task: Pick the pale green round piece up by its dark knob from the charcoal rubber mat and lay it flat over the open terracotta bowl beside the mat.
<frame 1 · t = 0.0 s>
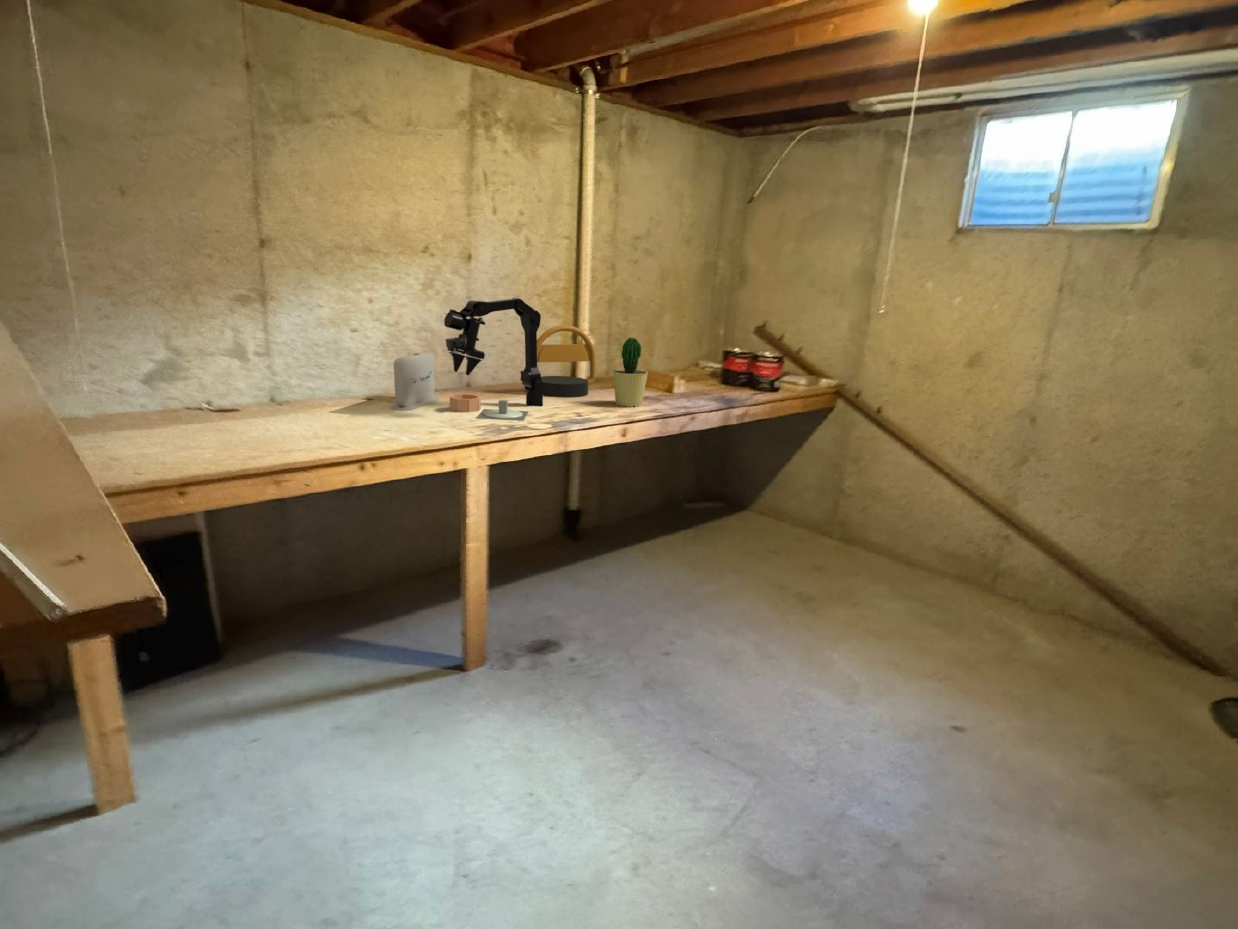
hand: (461, 373, 264), 15 cm above the workbench, tool pointing down, fingers open, 9 cm apart
mat: (503, 415, 267), on the workbench
wireless router: (415, 404, 281), on the workbench
pale green round piece: (503, 414, 267), resting on mat
bowl: (465, 410, 273), on the workbench
chair: (561, 393, 324), on the workbench
potted cactus: (628, 405, 304), on the workbench
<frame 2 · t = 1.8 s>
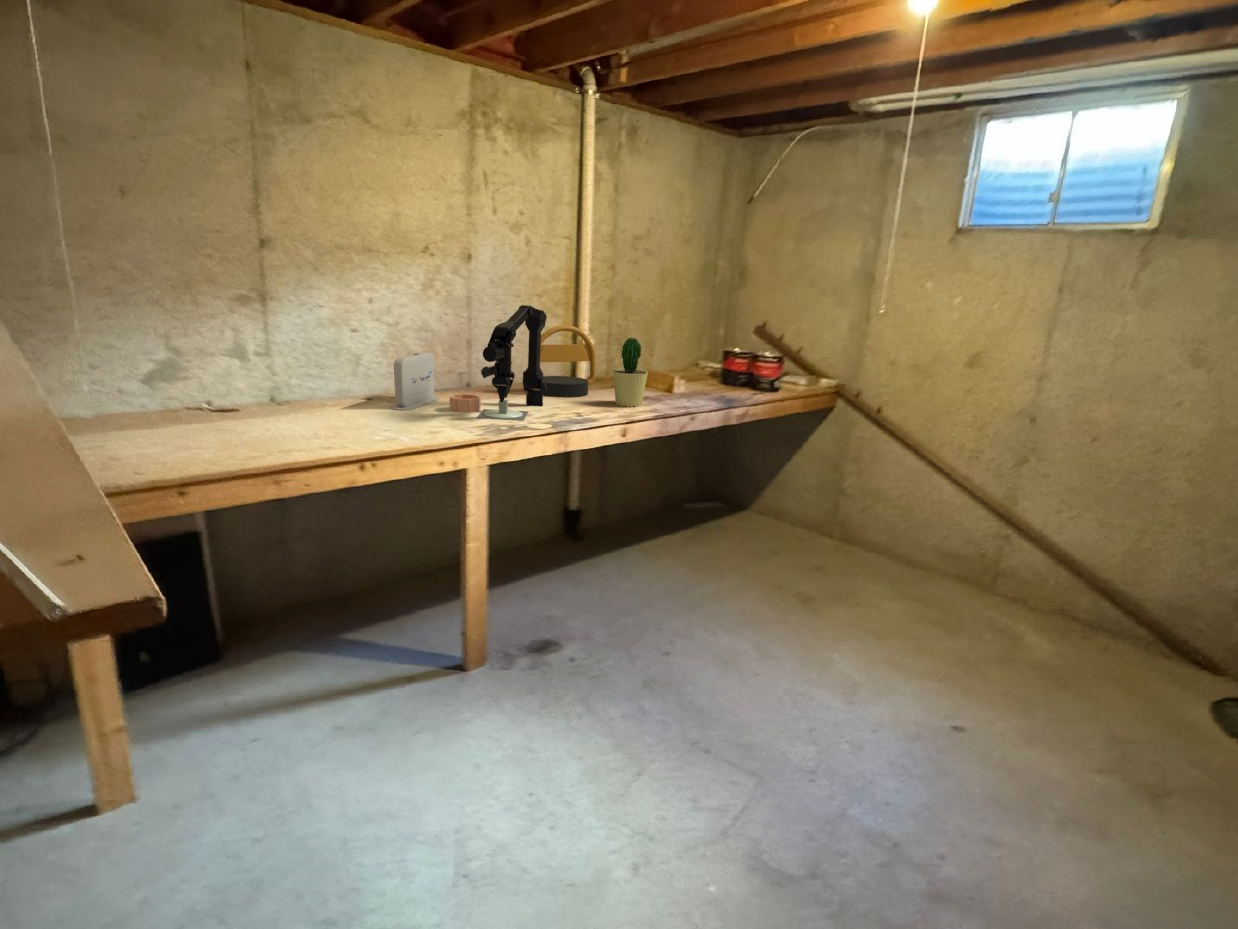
hand: (503, 399, 265), 6 cm above the workbench, tool pointing down, fingers open, 9 cm apart
nothing on the workbench moved.
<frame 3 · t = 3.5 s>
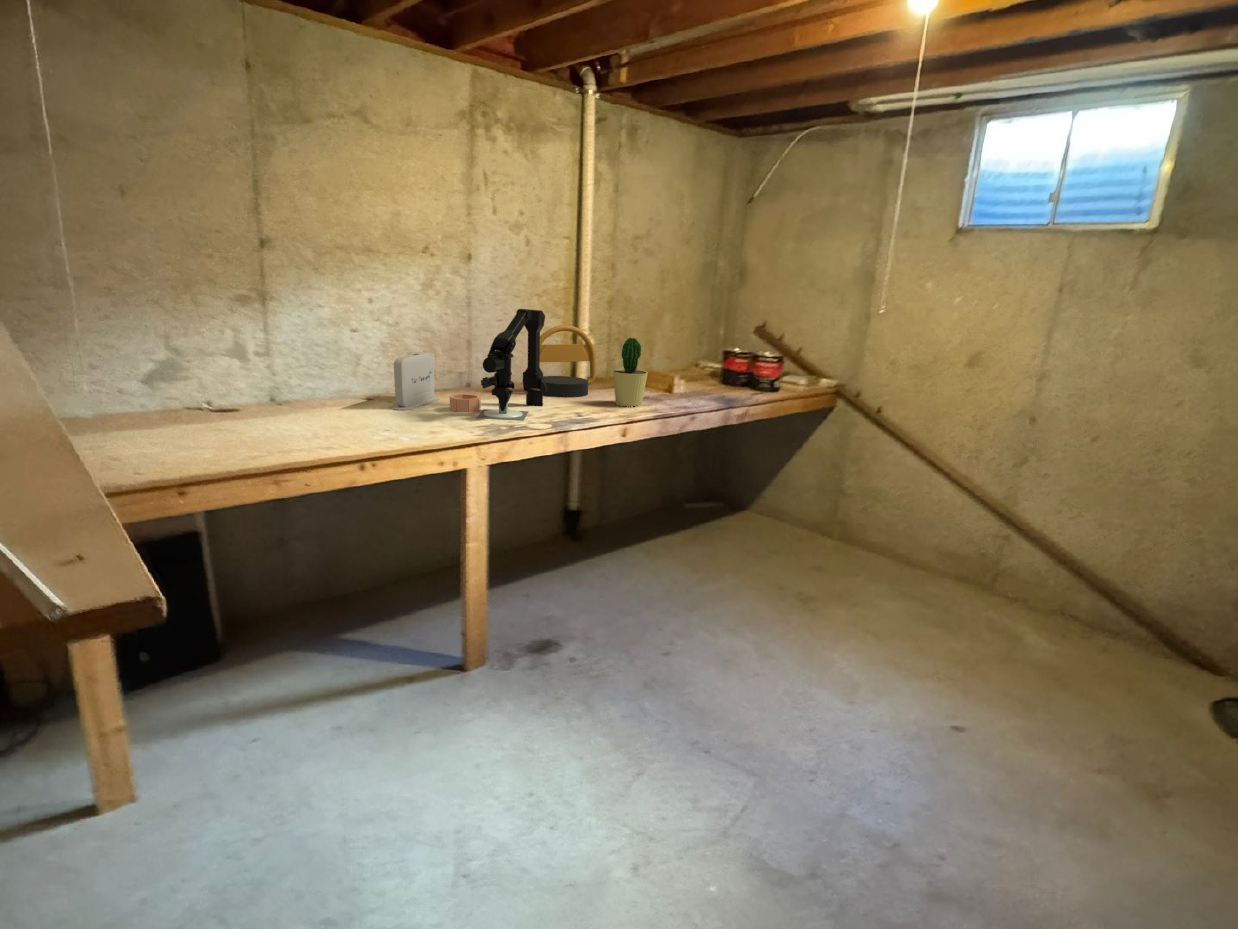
hand: (503, 410, 266), 2 cm above the workbench, tool pointing down, fingers closed on pale green round piece, 3 cm apart
pale green round piece: (503, 414, 267), resting on mat, touching gripper
everything else where it was.
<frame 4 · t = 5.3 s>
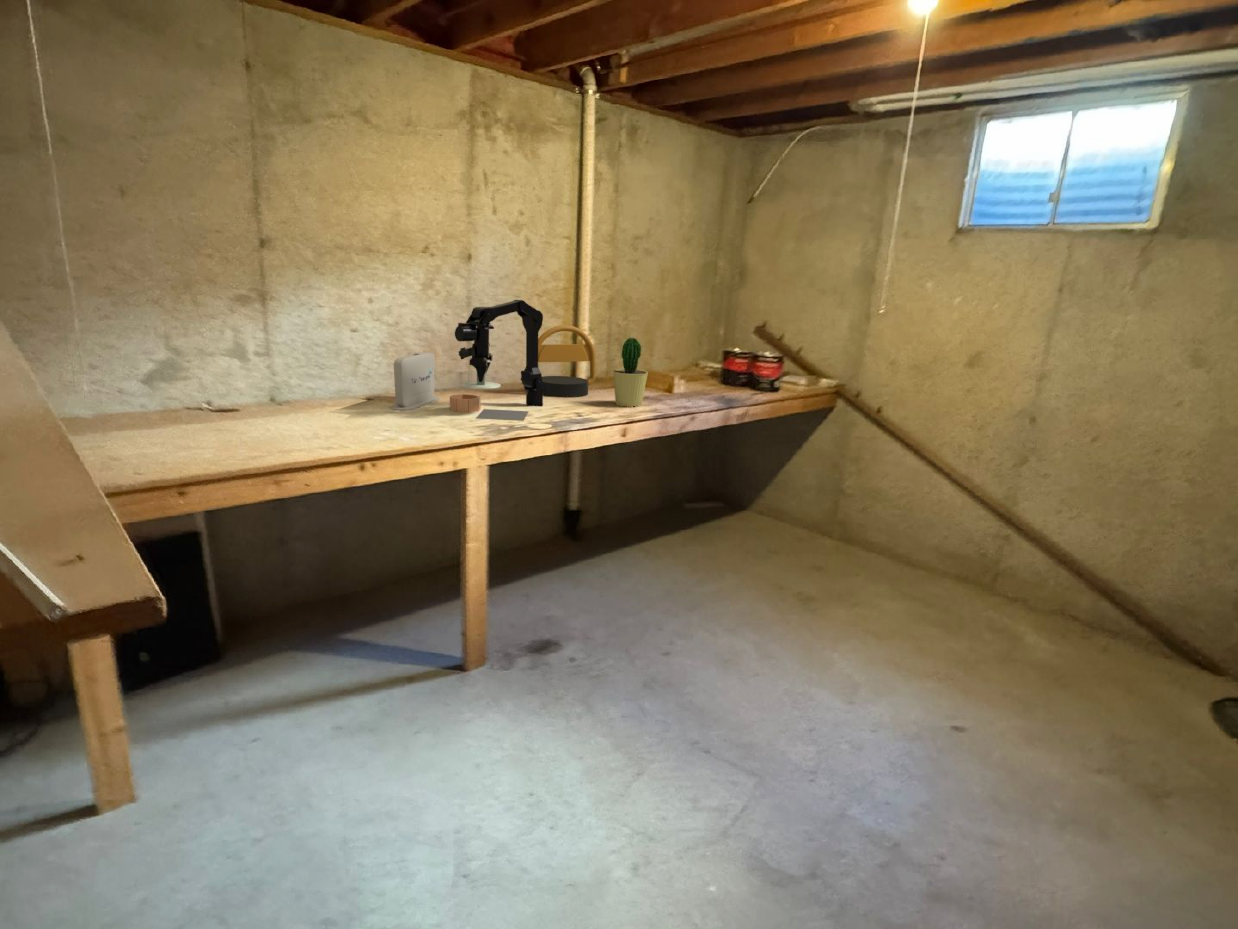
hand: (481, 381, 267), 12 cm above the workbench, tool pointing down, fingers closed on pale green round piece, 3 cm apart
pale green round piece: (481, 385, 267), point 11 cm above the workbench, touching gripper
everything else where it was.
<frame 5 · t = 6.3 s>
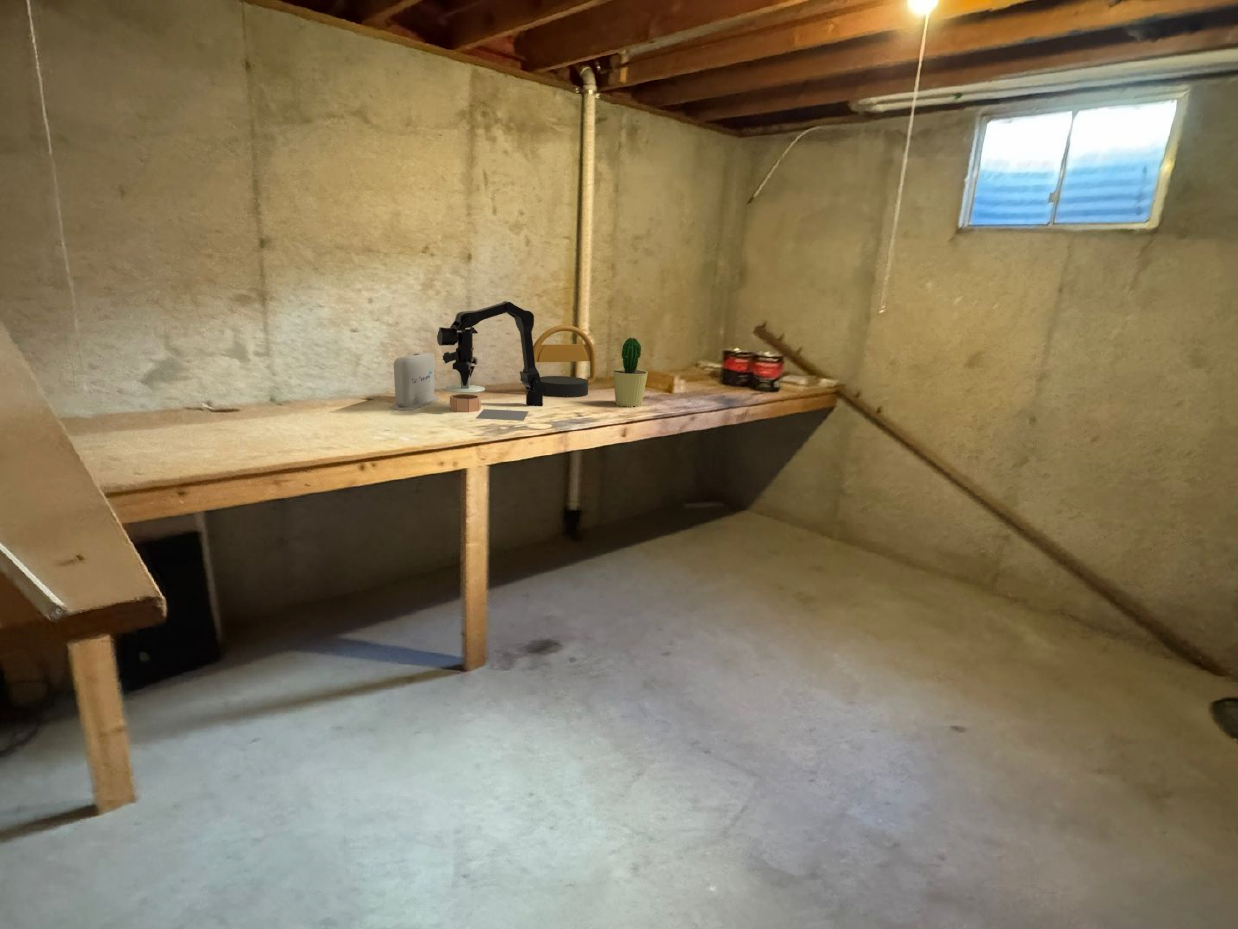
hand: (465, 385, 271), 10 cm above the workbench, tool pointing down, fingers closed on pale green round piece, 3 cm apart
pale green round piece: (465, 389, 271), point 8 cm above the workbench, touching gripper
everything else where it was.
when the fingers open (9 cm above the workbench, at t = 7.2 s): pale green round piece drops 1 cm, resting on bowl.
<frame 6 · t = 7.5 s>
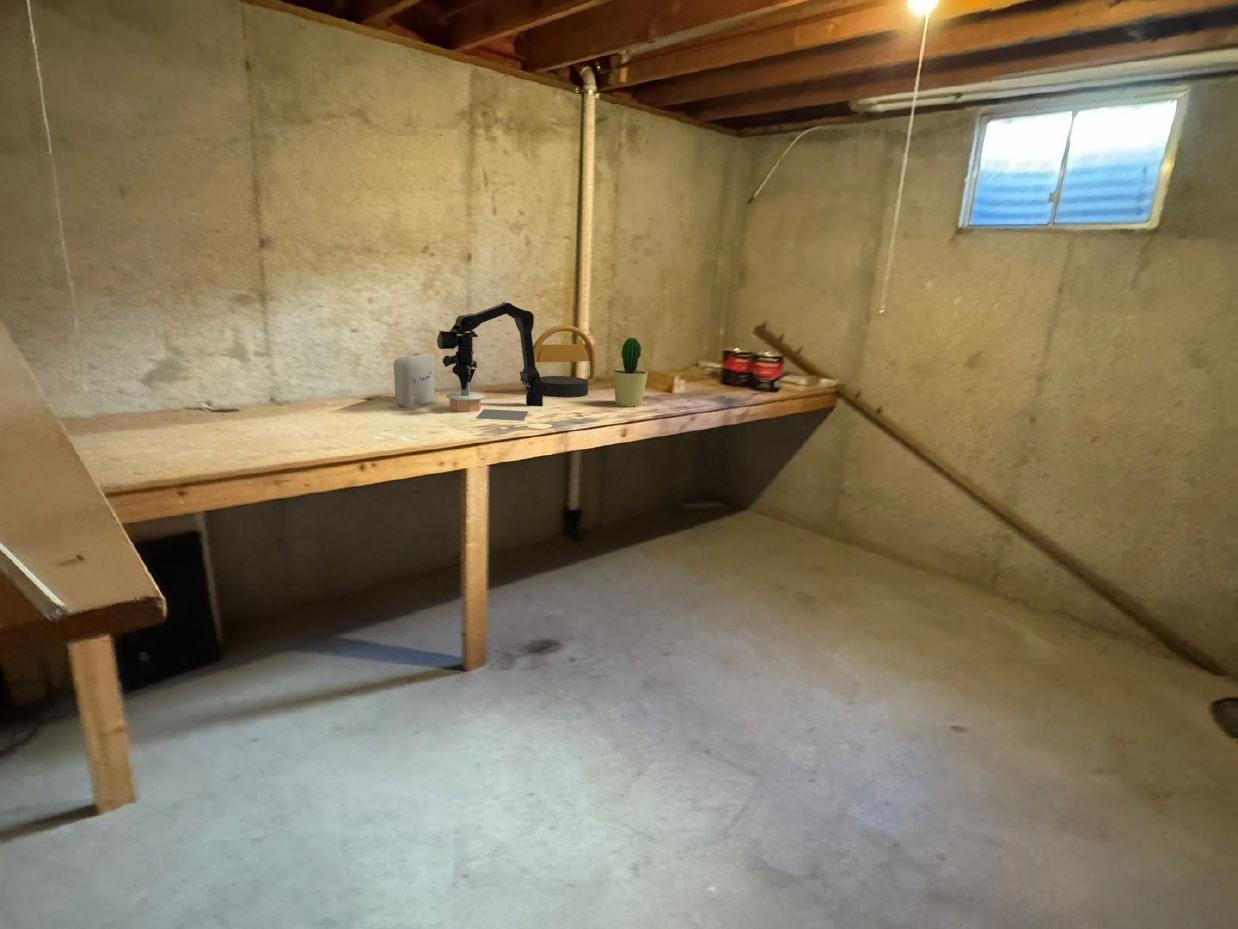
hand: (465, 388, 271), 9 cm above the workbench, tool pointing down, fingers open, 6 cm apart
pale green round piece: (465, 396, 272), point 5 cm above the workbench, touching bowl
bowl: (465, 410, 273), on the workbench, touching pale green round piece
everything else where it was.
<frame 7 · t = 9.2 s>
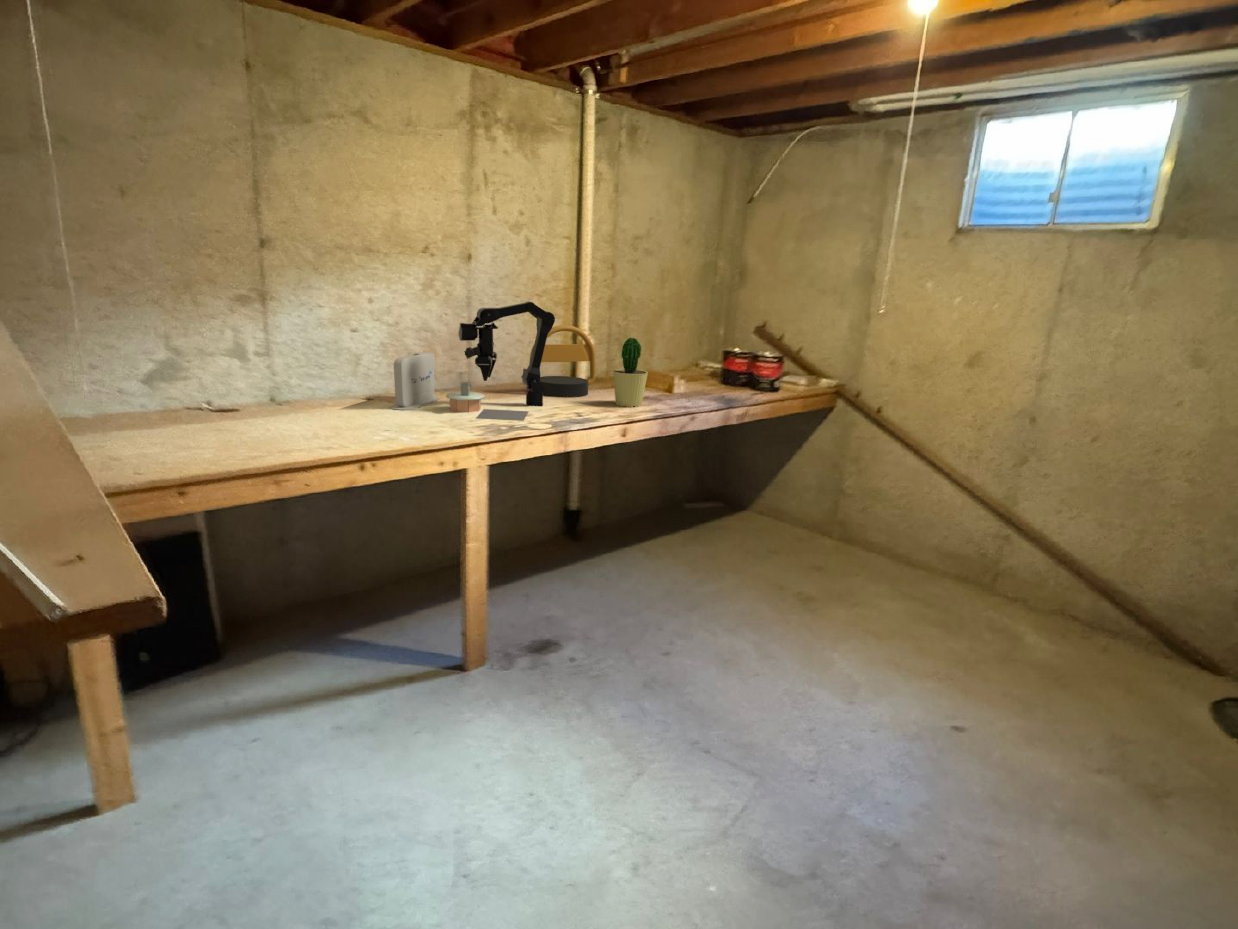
hand: (486, 379, 279), 12 cm above the workbench, tool pointing down, fingers open, 9 cm apart
nothing on the workbench moved.
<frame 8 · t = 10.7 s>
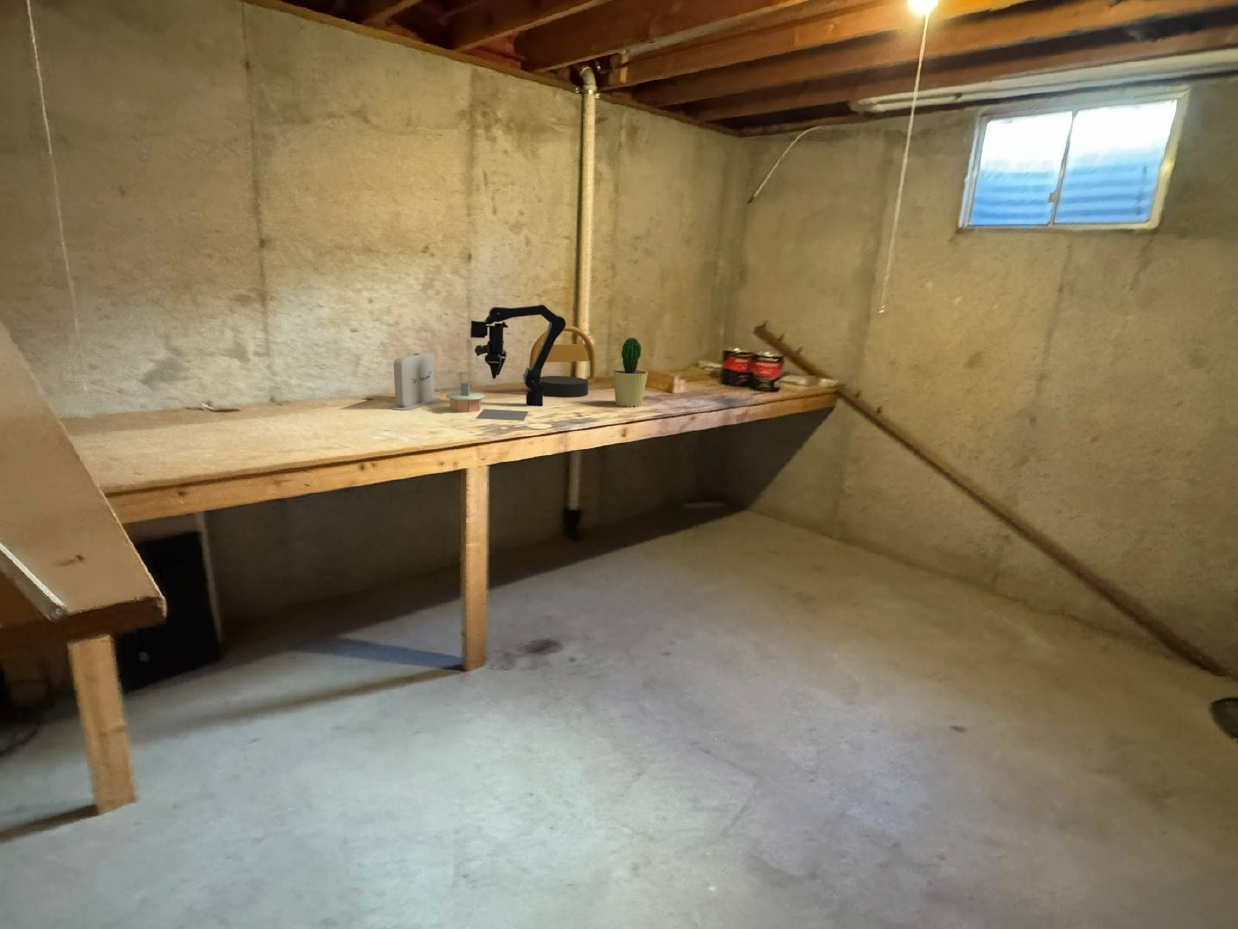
hand: (495, 376, 283), 12 cm above the workbench, tool pointing down, fingers open, 9 cm apart
nothing on the workbench moved.
at the end: pale green round piece 0.0 cm off-centre on the bowl, point 5.5 cm above the bowl's base; pale green round piece tilted 0°; the gripper is holding nothing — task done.
